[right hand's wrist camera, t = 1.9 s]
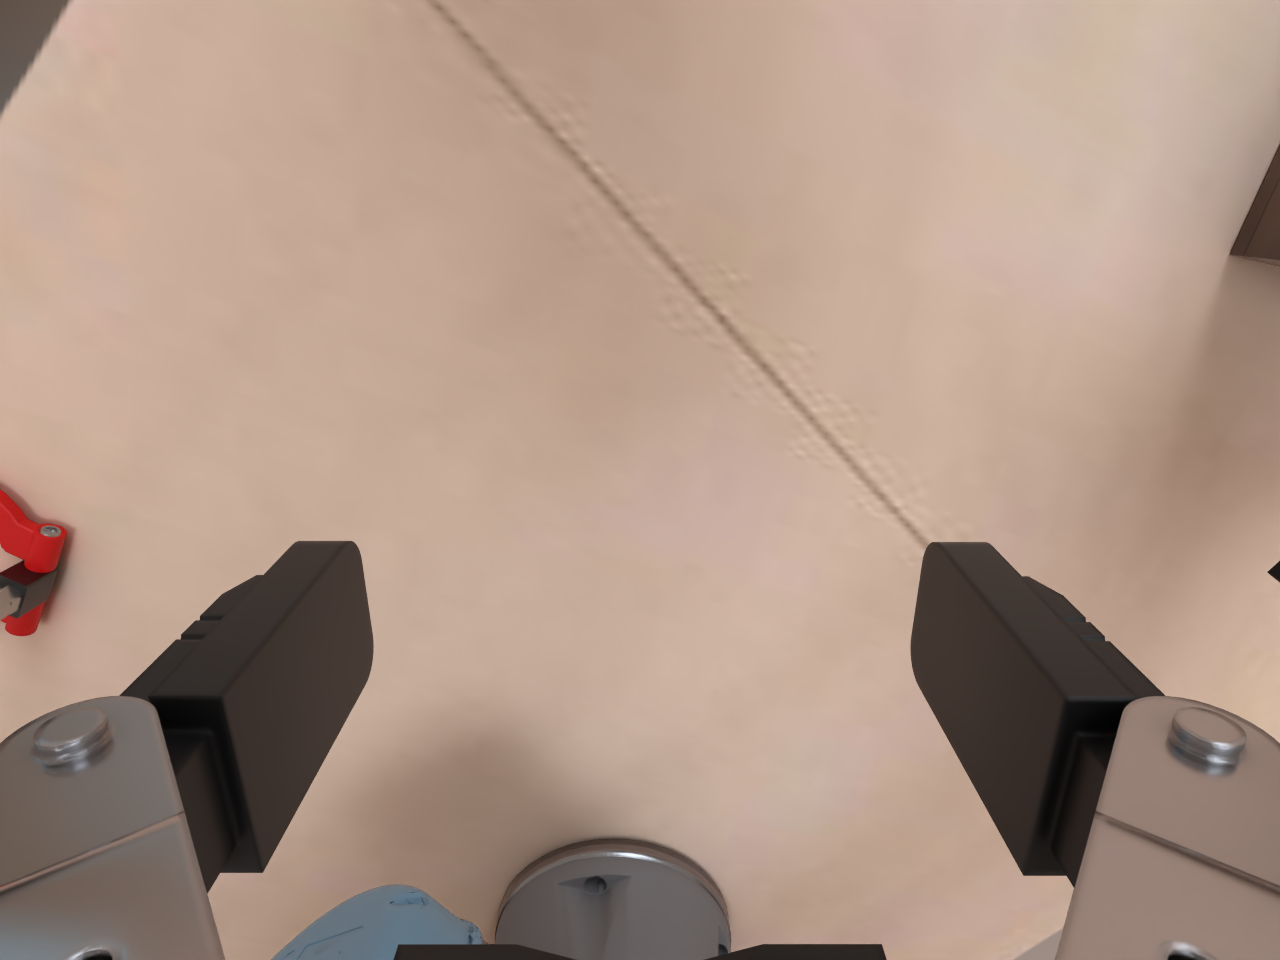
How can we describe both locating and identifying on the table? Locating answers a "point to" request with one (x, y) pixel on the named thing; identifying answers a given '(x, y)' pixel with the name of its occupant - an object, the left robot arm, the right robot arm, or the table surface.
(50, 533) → the tow hook
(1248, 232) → the chest
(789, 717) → the table surface
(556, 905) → the left robot arm
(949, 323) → the table surface
